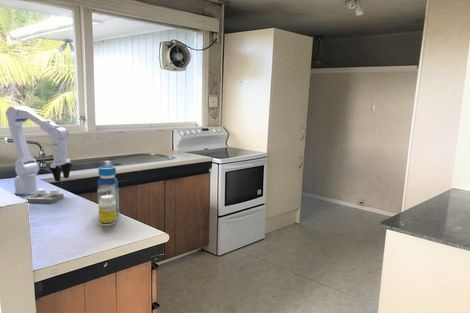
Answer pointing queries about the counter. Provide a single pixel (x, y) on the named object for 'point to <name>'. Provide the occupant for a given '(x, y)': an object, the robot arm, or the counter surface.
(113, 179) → the beverage bottle
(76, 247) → the counter surface
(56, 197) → the switch panel
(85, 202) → the counter surface
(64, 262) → the counter surface
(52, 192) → the switch tab
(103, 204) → the pill bottle
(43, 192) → the switch tab
